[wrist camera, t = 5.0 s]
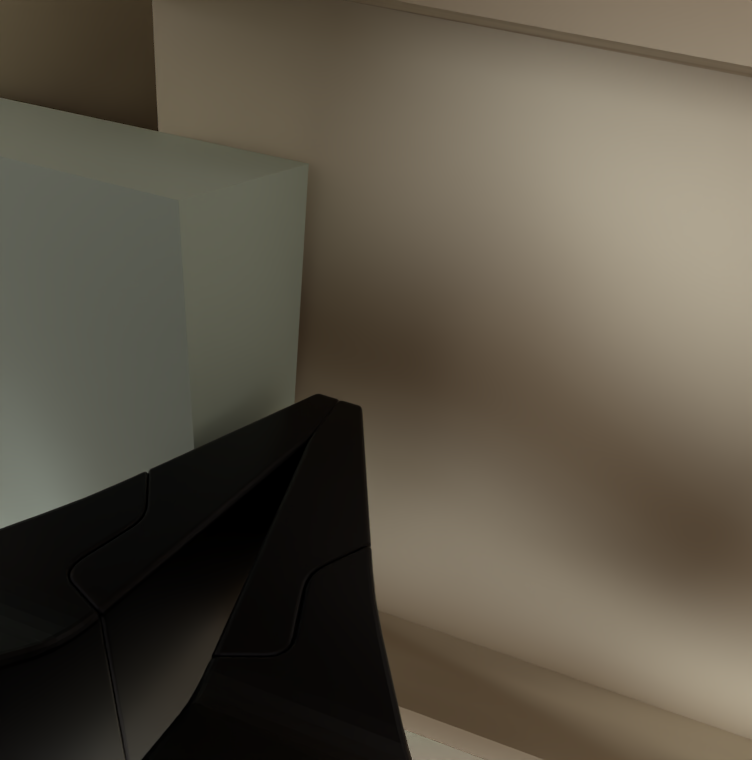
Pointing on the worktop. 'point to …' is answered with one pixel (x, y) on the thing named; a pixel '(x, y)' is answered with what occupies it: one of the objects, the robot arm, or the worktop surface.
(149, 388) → the pale green block
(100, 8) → the worktop surface
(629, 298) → the shallow beige tray
